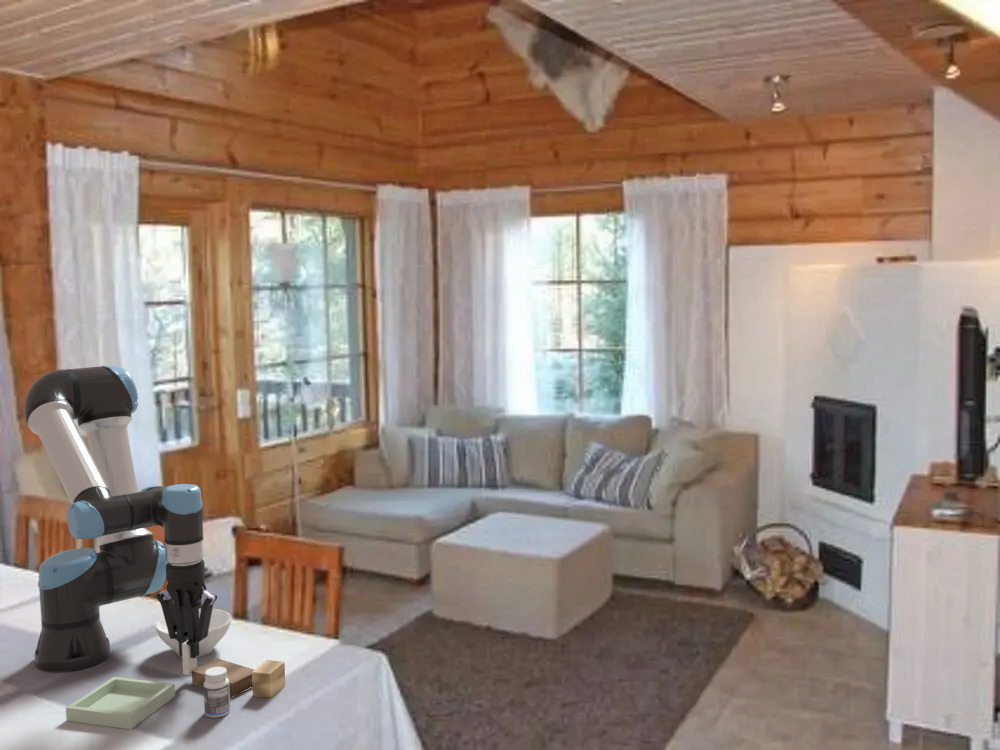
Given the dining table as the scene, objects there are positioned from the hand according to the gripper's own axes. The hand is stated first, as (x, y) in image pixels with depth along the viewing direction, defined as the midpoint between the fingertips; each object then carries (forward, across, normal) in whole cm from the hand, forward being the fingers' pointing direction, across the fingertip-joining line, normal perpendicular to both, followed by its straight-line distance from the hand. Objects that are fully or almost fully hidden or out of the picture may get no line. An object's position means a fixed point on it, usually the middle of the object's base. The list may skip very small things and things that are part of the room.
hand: (190, 671), depth 193 cm
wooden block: (+2, +18, 0) cm, 18 cm away
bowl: (+2, -8, +14) cm, 17 cm away
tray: (+2, -6, -14) cm, 15 cm away
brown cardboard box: (+3, +7, +1) cm, 8 cm away
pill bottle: (+3, +13, -11) cm, 17 cm away
